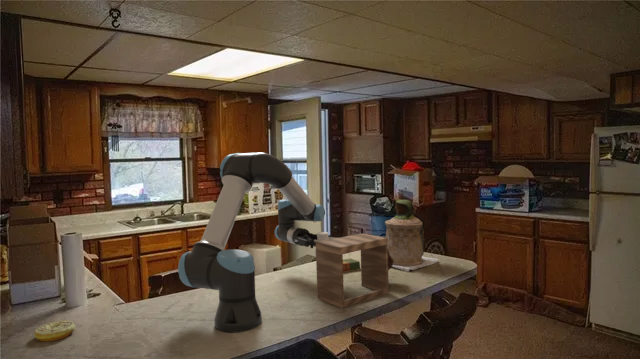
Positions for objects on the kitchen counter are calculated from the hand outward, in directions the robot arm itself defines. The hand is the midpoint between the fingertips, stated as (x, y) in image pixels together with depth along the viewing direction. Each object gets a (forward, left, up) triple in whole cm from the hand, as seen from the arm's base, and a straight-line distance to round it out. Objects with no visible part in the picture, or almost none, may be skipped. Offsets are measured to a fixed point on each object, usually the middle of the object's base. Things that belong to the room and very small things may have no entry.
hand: (331, 243), depth 174 cm
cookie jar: (+52, +8, -19) cm, 55 cm away
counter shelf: (0, -12, -18) cm, 22 cm away
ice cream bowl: (+20, -7, -18) cm, 28 cm away
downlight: (0, +5, -6) cm, 8 cm away
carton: (+21, +20, -19) cm, 34 cm away
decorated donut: (-94, +23, -19) cm, 98 cm away
